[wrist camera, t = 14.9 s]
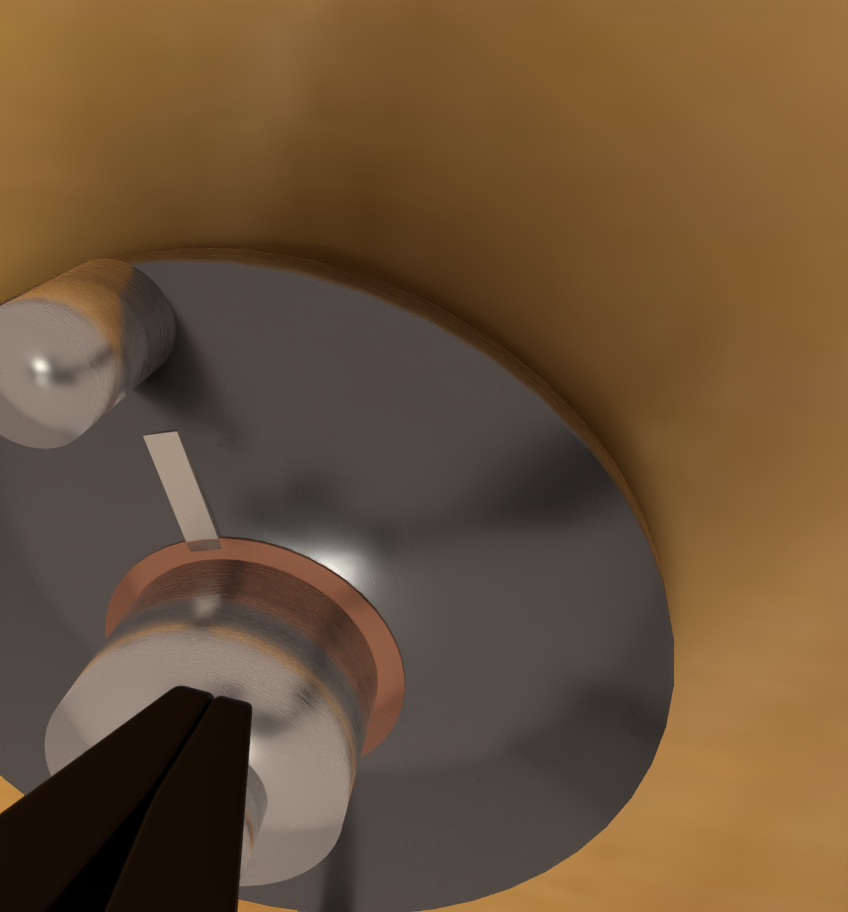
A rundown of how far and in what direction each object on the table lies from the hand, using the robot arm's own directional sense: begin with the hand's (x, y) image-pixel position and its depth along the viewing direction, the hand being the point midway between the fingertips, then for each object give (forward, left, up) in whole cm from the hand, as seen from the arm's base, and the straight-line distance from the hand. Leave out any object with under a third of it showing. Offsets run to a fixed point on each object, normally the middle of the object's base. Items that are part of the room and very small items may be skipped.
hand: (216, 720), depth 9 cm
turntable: (+4, +7, -10) cm, 13 cm away
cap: (+4, +7, -8) cm, 12 cm away
